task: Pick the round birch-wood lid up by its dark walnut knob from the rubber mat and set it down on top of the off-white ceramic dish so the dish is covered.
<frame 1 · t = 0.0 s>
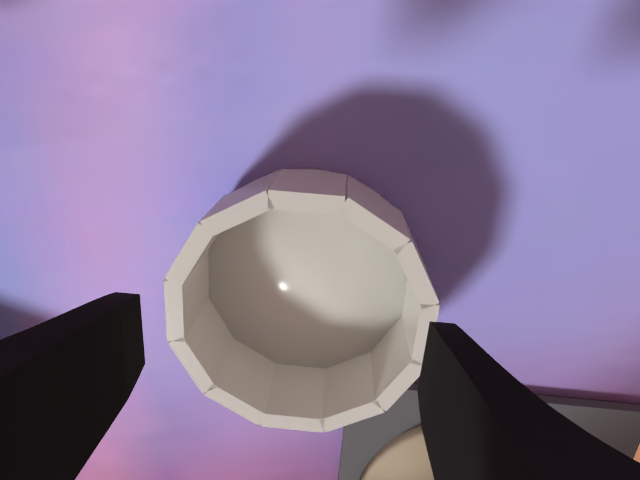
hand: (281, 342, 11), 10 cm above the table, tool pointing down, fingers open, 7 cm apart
dish: (308, 274, 22), on the table
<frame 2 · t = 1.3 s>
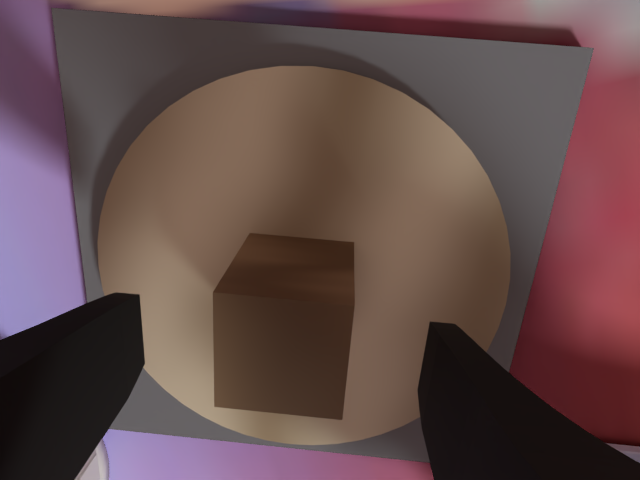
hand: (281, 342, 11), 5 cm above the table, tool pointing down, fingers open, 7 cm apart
mat: (303, 266, 16), on the table
lid: (301, 274, 15), point 1 cm above the table, touching mat
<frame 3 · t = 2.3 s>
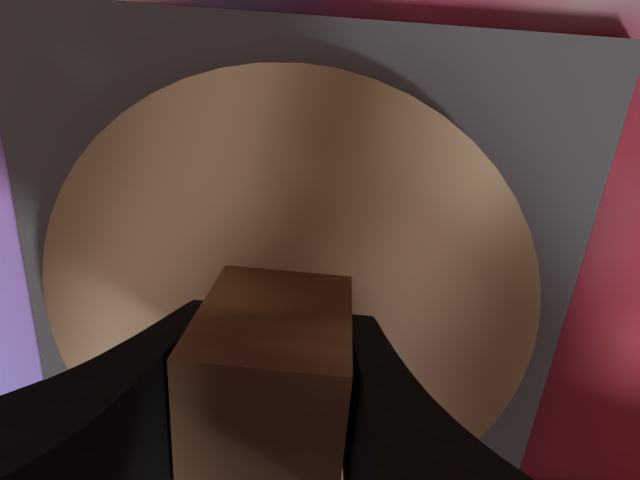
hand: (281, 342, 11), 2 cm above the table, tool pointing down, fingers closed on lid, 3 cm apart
mat: (292, 300, 13), on the table
lid: (289, 310, 13), point 1 cm above the table, touching gripper, mat
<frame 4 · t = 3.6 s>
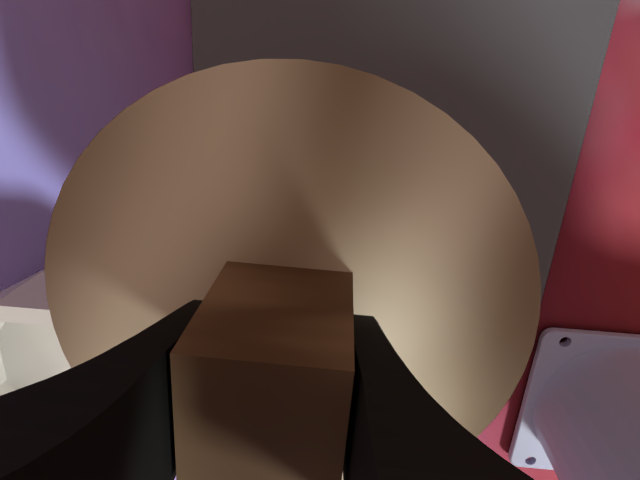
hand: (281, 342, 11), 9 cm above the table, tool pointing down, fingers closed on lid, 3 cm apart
dish: (102, 355, 23), on the table
mat: (378, 182, 19), on the table
lid: (290, 306, 13), point 8 cm above the table, touching gripper
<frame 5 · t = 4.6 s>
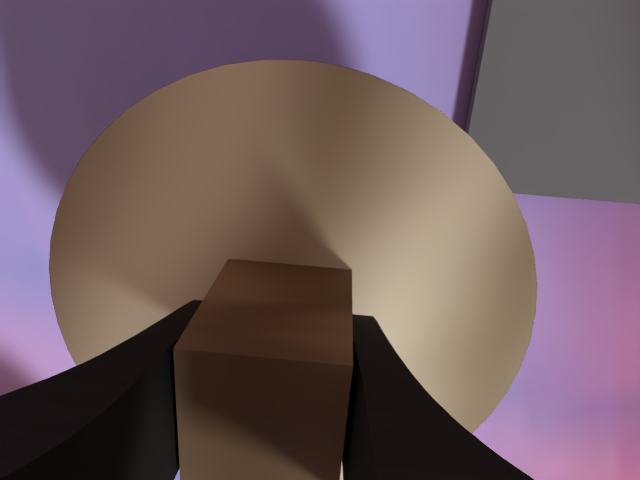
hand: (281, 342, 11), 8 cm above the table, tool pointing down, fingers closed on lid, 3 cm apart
lid: (290, 303, 13), point 6 cm above the table, touching gripper
when the fingers open (7 cm above the table, at t = 5.0 s): lid stays where it is, resting on dish.
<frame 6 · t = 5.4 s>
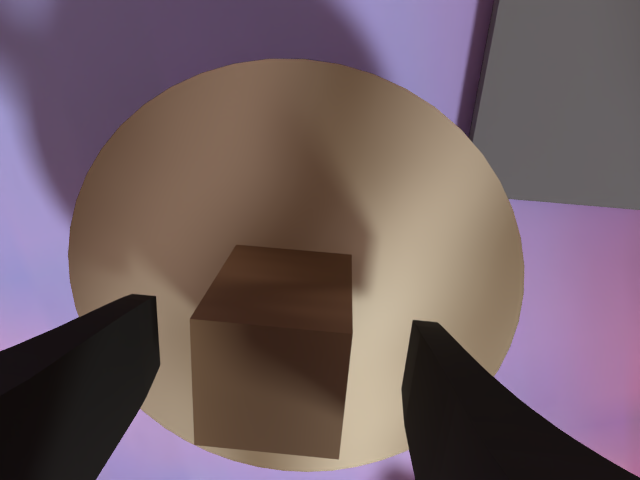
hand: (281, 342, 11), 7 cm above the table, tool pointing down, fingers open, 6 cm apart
lid: (294, 288, 14), point 4 cm above the table, touching dish
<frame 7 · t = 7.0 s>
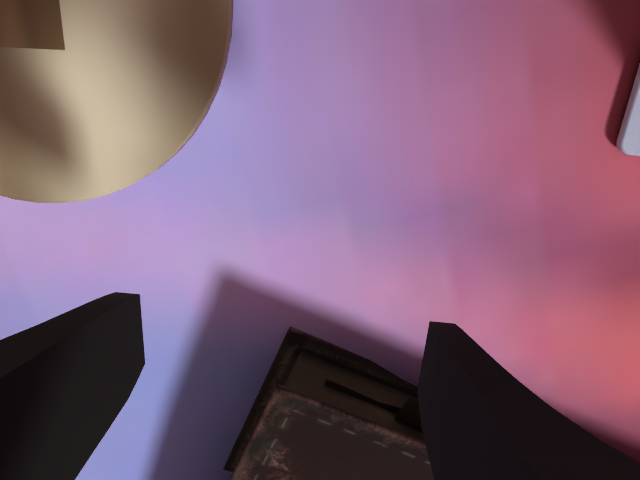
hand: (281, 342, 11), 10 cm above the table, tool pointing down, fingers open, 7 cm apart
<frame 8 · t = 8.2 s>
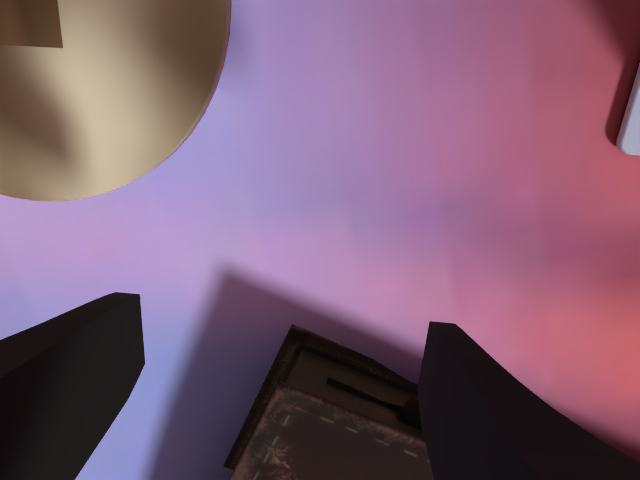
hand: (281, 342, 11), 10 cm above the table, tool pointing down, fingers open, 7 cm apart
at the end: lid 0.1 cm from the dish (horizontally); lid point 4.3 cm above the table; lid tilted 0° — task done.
